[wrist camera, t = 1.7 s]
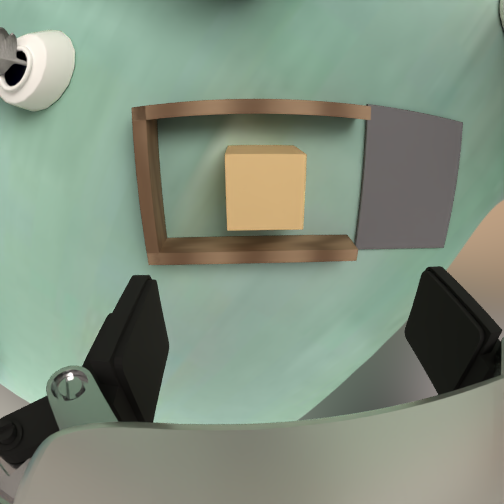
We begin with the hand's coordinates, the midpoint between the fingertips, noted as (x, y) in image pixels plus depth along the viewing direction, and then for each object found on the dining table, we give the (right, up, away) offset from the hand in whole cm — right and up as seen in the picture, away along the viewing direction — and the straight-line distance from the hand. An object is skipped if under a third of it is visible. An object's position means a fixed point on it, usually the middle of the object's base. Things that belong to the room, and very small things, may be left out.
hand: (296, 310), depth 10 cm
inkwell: (-27, +23, +11) cm, 37 cm away
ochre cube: (-1, +9, +18) cm, 21 cm away
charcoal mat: (+15, +9, +19) cm, 26 cm away
